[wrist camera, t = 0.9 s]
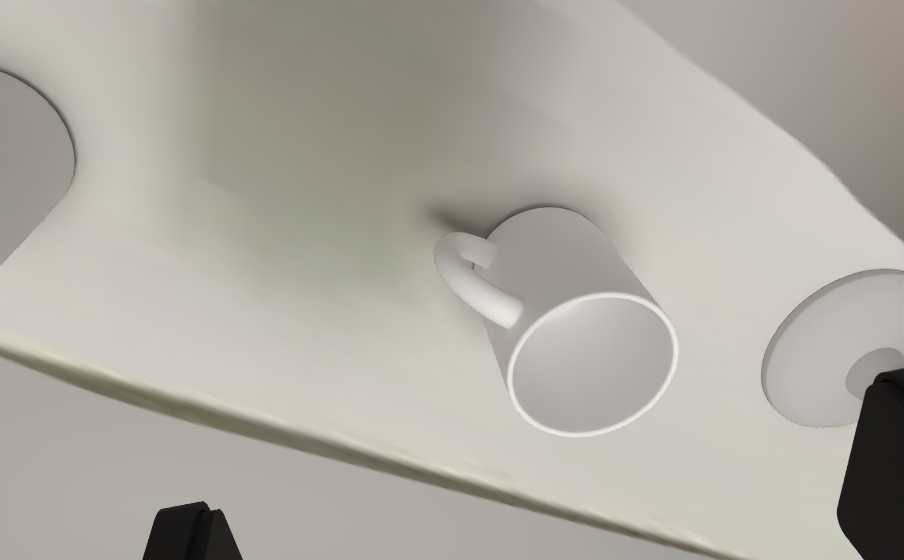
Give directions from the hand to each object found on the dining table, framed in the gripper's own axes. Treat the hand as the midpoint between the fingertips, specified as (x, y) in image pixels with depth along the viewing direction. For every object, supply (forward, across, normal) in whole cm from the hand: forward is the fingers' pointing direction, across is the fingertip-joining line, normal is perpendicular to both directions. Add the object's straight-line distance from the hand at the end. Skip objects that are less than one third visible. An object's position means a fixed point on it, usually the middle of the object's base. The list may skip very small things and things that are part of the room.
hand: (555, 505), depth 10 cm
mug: (+28, -5, +11) cm, 31 cm away
